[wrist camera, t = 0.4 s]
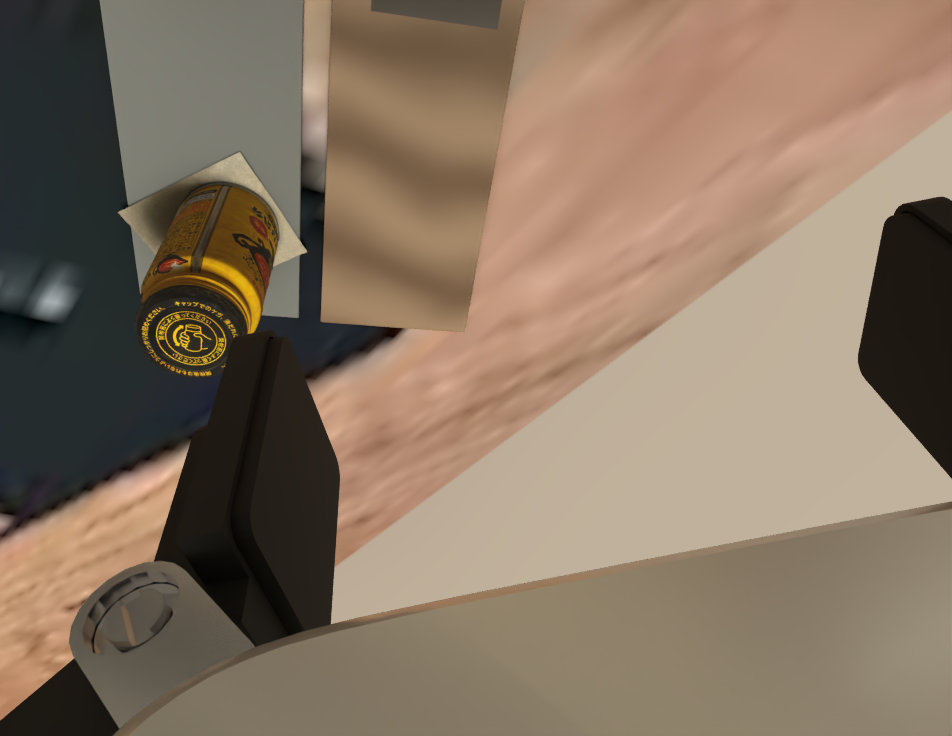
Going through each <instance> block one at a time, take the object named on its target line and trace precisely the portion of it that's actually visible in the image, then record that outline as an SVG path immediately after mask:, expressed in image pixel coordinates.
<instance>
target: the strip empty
mask: <svg viewBox="0 0 952 736" xmlns="http://www.w3.org/2000/svg"><path fill="white" fill-rule="evenodd" d="M524 1H525V0H332V25H331V53H330V81H329V108H328V136H327V164H326V192H325V219H324V247H323V275H322V302H321V322H329V323H343V324H356V325H370V326H383V327H397V328H410V329H424V330H437V331H451V332H464V333H465V328H466V322H467V317H468V311H469V306H470V300H471V295H472V289H473V283H474V278H475V272H476V267H477V261H478V256H479V250H480V245H481V239H482V234H483V228H484V222H485V217H486V211H487V206H488V200H489V195H490V189H491V184H492V178H493V173H494V167H495V161H496V156H497V150H498V145H499V139H500V134H501V128H502V123H503V117H504V112H505V106H506V100H507V95H508V89H509V84H510V78H511V73H512V67H513V62H514V56H515V51H516V45H517V40H518V34H519V28H520V23H521V17H522V12H523V6H524Z"/></svg>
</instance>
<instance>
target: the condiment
mask: <svg viewBox="0 0 952 736" xmlns="http://www.w3.org/2000/svg"><path fill="white" fill-rule="evenodd" d="M118 213H119V214H120V215H121V216H122V217H123V219H124V220H125V221H126V222H127V223H128V224H129V225H130V226H131V227H132V228H133V229H134V231H135V232H136V233H137V234H138V235H139V236H140V237H141V239H142V240H143V241H144V242H145V243H146V244H147V246H148V247H149V248H150V249H151V250H152V251H153V252H154V254H155V255H156V256H155V258H154V260H153V262H152V264H151V265H150V268H149V270H148V272H147V274H146V276H145V278H144V280H143V283H142V285H141V294H140V295H141V304H140V309H139V310H138V311H137V313H136V314H137V317H136V318H135V332H136V333H137V338H138V343H139V345H140V347H141V348H142V350H143V351H144V353H145V354H146V355H147V356H148V357H149V358H150V359H151V361H153V362H154V363H156V364H157V365H158V366H160V367H161V368H162V369H164V370H166V371H169V372H172V373H175V374H177V375H181V376H185V377H211V376H215V375H217V374H220V373H223V370H224V367H225V363H226V360H227V357H228V353H229V350H230V346H231V343H232V340H233V338H234V337H236V336H240V335H245V334H250V333H254V331H255V329H256V328H257V326H258V323H259V320H260V317H261V315H262V312H263V305H264V301H265V296H266V292H267V289H268V286H269V280H270V276H271V271H272V269H273V267H274V266H276V265H278V264H280V263H282V262H285V261H288V260H290V259H291V258H294V257H296V256H298V255H301V254H303V253H306V252H307V251H306V249H305V248H304V246H303V245H302V243H301V242H300V240H299V239H298V237H297V235H296V234H295V233H294V231H293V230H292V228H291V226H290V225H289V223H288V222H287V220H286V219H285V217H284V216H283V214H282V213H281V211H280V210H279V208H278V207H277V205H276V204H275V202H274V201H273V200H272V198H271V196H270V195H269V194H268V192H267V191H266V189H265V188H264V186H263V185H262V183H261V182H260V181H259V179H258V178H257V176H256V175H255V174H254V172H253V171H252V169H251V168H250V166H249V165H248V163H247V162H246V161H245V159H244V158H243V156H242V154H241V153H240V152H238V153H236V154H234V155H232V156H230V157H228V158H226V159H224V160H222V161H220V162H218V163H215V164H213V165H211V166H210V167H208V168H206V169H203V170H201V171H199V172H197V173H195V174H193V175H191V176H190V177H187V178H185V179H183V180H181V181H180V182H177V183H175V184H173V185H172V186H170V187H168V188H166V189H164V190H162V191H160V192H158V193H156V194H154V195H151V196H149V197H147V198H145V199H143V200H141V201H140V202H138V203H136V204H134V205H132V206H130V207H128V208H126V209H124V210H122V211H120V212H118Z"/></svg>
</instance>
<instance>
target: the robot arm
mask: <svg viewBox="0 0 952 736" xmlns="http://www.w3.org/2000/svg"><path fill="white" fill-rule="evenodd" d="M858 364H859V368H860V371H861V373H862V375H863V377H864V378H865V379H866V381H867V382H868V383H869V384H870V385H871V386H872V387H873V389H874V390H875V391H876V392H877V393H878V394H879V395H880V397H881V398H882V399H883V400H884V401H885V402H886V403H887V405H888V406H889V407H890V408H891V409H892V410H893V412H894V413H895V414H896V415H897V416H898V417H899V418H900V420H901V421H902V422H903V423H904V424H905V425H906V427H907V428H908V429H909V430H910V431H911V432H912V433H913V435H914V436H915V437H916V438H917V439H918V440H919V441H920V443H922V445H923V446H924V447H925V448H926V449H927V451H928V452H929V453H930V454H931V455H932V456H933V458H934V459H935V460H936V461H937V462H938V463H939V464H940V466H941V467H942V468H943V469H944V470H945V471H946V472H947V474H948V475H949V476H950V477H951V478H952V201H951V200H950V199H948V198H945V197H936V198H931V199H926V200H921V201H916V202H911V203H906V204H902V205H901V206H899V207H898V208H897V210H896V211H895V213H894V215H893V216H890V217H889V218H888V219H887V220H886V221H885V223H884V227H883V231H882V237H881V241H880V246H879V251H878V256H877V262H876V267H875V272H874V277H873V282H872V287H871V292H870V297H869V302H868V308H867V313H866V318H865V323H864V328H863V333H862V338H861V343H860V348H859V353H858ZM339 486H340V473H339V466H338V462H337V458H336V455H335V453H334V450H333V448H332V445H331V443H330V440H329V438H328V435H327V433H326V430H325V428H324V425H323V423H322V420H321V418H320V415H319V413H318V410H317V408H316V405H315V403H314V400H313V398H312V395H311V393H310V390H309V388H308V385H307V382H306V380H305V377H304V375H303V372H302V370H301V367H300V365H299V362H298V360H297V357H296V355H295V352H294V350H293V347H292V345H291V343H290V341H289V339H288V338H287V337H286V336H283V337H278V338H277V337H276V335H275V333H274V332H273V331H272V330H265V331H260V332H255V333H250V334H245V335H240V336H236V337H234V338H233V340H232V343H231V346H230V350H229V353H228V357H227V360H226V363H225V367H224V370H223V374H222V377H221V381H220V384H219V388H218V391H217V395H216V398H215V401H214V405H213V408H212V412H211V415H210V419H209V422H208V426H205V427H200V428H199V429H198V430H196V431H195V433H194V435H193V437H192V440H191V443H190V446H189V450H188V453H187V456H186V459H185V463H184V466H183V469H182V472H181V475H180V479H179V482H178V485H177V488H176V492H175V495H174V498H173V501H172V505H171V508H170V511H169V514H168V518H167V521H166V524H165V527H164V530H163V534H162V537H161V540H160V543H159V547H158V550H157V553H156V556H155V560H154V562H146V563H141V564H139V565H136V566H133V567H130V568H128V569H125V570H123V571H122V572H120V573H118V574H117V575H115V576H113V577H112V578H110V579H108V580H107V581H106V582H105V583H103V584H102V585H101V586H100V587H99V588H98V589H97V590H95V591H94V592H93V593H92V594H91V595H90V596H89V598H88V599H87V600H86V601H85V603H84V604H83V605H82V607H81V608H80V609H79V611H78V613H77V615H76V617H75V619H74V621H73V623H72V626H71V631H70V638H69V644H70V647H71V651H72V654H73V656H74V659H73V660H72V661H71V662H69V663H68V664H67V665H66V666H65V667H64V668H62V669H61V670H60V671H59V672H58V673H56V674H55V675H54V676H53V677H52V678H50V679H49V680H48V681H47V682H46V683H45V684H43V685H42V686H41V687H40V688H39V689H37V690H36V691H35V692H34V693H33V694H31V695H30V696H29V697H28V698H27V699H25V700H24V701H23V702H22V703H21V704H20V705H18V706H17V707H16V708H15V709H14V710H12V711H11V712H10V713H9V714H8V715H6V716H5V717H4V718H3V719H2V720H1V721H0V736H952V502H947V503H941V504H936V505H930V506H925V507H919V508H914V509H909V510H903V511H898V512H893V513H887V514H882V515H876V516H871V517H865V518H861V519H855V520H850V521H845V522H840V523H834V524H828V525H823V526H818V527H813V528H807V529H802V530H797V531H792V532H787V533H782V534H776V535H770V536H766V537H761V538H755V539H749V540H744V541H739V542H734V543H729V544H723V545H718V546H713V547H708V548H703V549H697V550H692V551H687V552H682V553H677V554H671V555H667V556H661V557H656V558H650V559H645V560H640V561H635V562H630V563H625V564H620V565H615V566H609V567H605V568H600V569H594V570H589V571H585V572H579V573H574V574H569V575H564V576H559V577H554V578H549V579H543V580H538V581H533V582H528V583H524V584H518V585H513V586H508V587H503V588H498V589H493V590H487V591H482V592H477V593H472V594H467V595H463V596H458V597H453V598H449V599H444V600H439V601H434V602H429V603H425V604H420V605H415V606H411V607H406V608H401V609H396V610H392V611H387V612H382V613H378V614H373V615H369V616H364V617H359V618H355V619H351V620H347V621H343V622H339V623H335V624H331V610H332V595H333V579H334V564H335V548H336V533H337V517H338V501H339Z"/></svg>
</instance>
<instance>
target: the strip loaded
mask: <svg viewBox="0 0 952 736" xmlns="http://www.w3.org/2000/svg"><path fill="white" fill-rule="evenodd" d="M100 6H101V14H102V21H103V28H104V35H105V42H106V50H107V57H108V64H109V71H110V78H111V86H112V93H113V100H114V107H115V115H116V122H117V129H118V136H119V143H120V151H121V158H122V165H123V172H124V179H125V187H126V194H127V201H128V207H130V206H132V205H134V204H136V203H138V202H140V201H141V200H143V199H145V198H147V197H149V196H151V195H154V194H156V193H158V192H160V191H162V190H164V189H166V188H168V187H170V186H172V185H173V184H175V183H177V182H180V181H181V180H183V179H185V178H187V177H190V176H191V175H193V174H195V173H197V172H199V171H201V170H203V169H206V168H208V167H210V166H211V165H213V164H215V163H218V162H220V161H222V160H224V159H226V158H228V157H230V156H232V155H234V154H236V153H238V152H240V153H241V154H242V156H243V158H244V159H245V161H246V162H247V163H248V165H249V166H250V168H251V169H252V171H253V172H254V174H255V175H256V176H257V178H258V179H259V181H260V182H261V183H262V185H263V186H264V188H265V189H266V191H267V192H268V194H269V195H270V196H271V198H272V200H273V201H274V202H275V204H276V205H277V207H278V208H279V210H280V211H281V213H282V214H283V216H284V217H285V219H286V220H287V222H288V223H289V225H290V226H291V228H292V230H293V231H294V233H295V234H296V235H297V237H298V239H299V240H300V214H301V145H302V76H303V7H304V0H100ZM131 230H132V237H133V244H134V252H135V259H136V266H137V273H138V280H139V288H140V294H141V285H142V283H143V280H144V278H145V276H146V274H147V272H148V270H149V268H150V265H151V264H152V262H153V260H154V258H155V256H156V255H155V254H154V252H153V251H152V250H151V249H150V248H149V247H148V246H147V244H146V243H145V242H144V241H143V240H142V239H141V237H140V236H139V235H138V234H137V233H136V232H135V231H134V229H133V228H132V227H131ZM299 283H300V255H298V256H296V257H294V258H291V259H290V260H288V261H285V262H282V263H280V264H278V265H276V266H274V267H273V269H272V271H271V276H270V280H269V286H268V289H267V292H266V296H265V301H264V305H263V312H262V315H267V316H281V317H294V318H298V317H299Z"/></svg>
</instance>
